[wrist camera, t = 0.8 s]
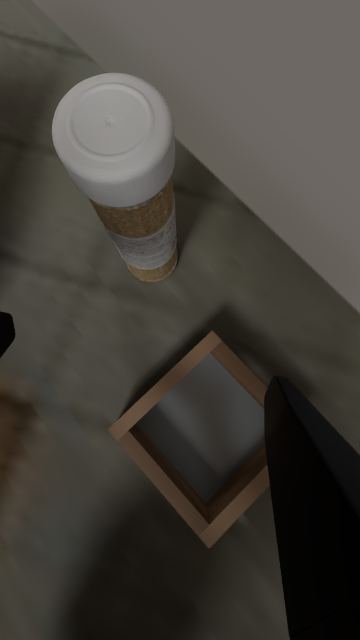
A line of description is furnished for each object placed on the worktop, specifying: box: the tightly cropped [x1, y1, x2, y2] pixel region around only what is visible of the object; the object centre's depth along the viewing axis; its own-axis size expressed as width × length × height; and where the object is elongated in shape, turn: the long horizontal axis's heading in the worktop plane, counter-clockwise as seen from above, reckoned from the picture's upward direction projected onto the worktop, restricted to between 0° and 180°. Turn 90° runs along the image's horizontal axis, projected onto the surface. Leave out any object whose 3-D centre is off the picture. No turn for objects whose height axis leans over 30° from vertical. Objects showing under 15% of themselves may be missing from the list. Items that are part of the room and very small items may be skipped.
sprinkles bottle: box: [52, 73, 178, 282], centre depth 16 cm, size 5×5×14 cm
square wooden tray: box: [108, 331, 270, 549], centre depth 19 cm, size 10×10×3 cm
